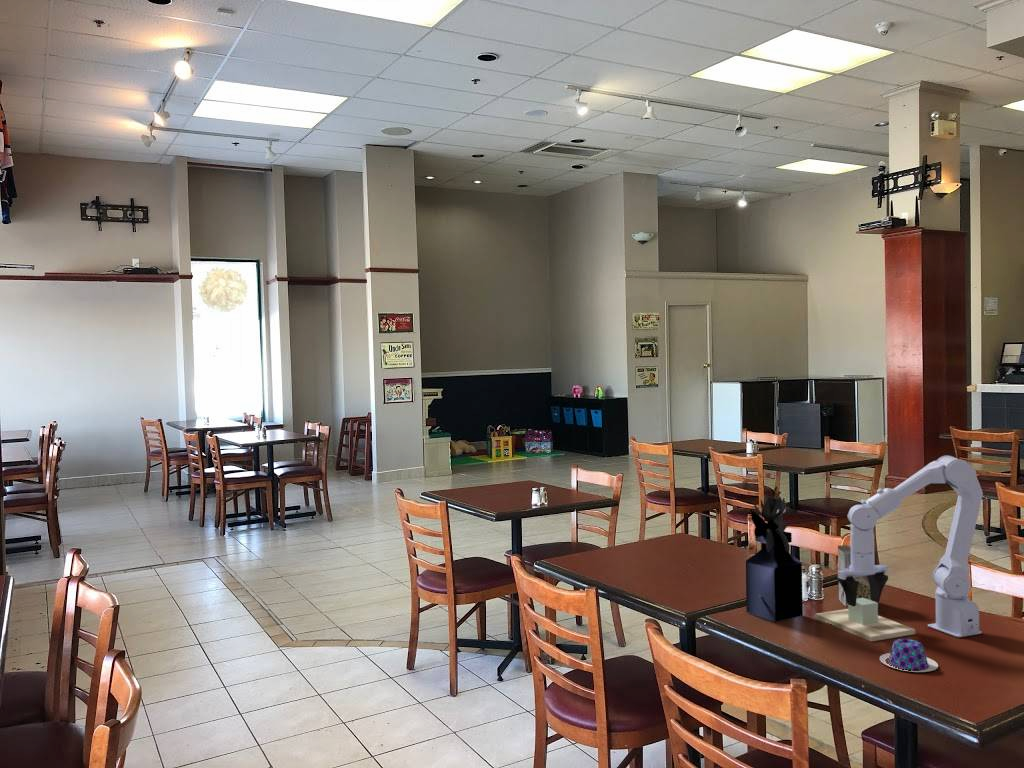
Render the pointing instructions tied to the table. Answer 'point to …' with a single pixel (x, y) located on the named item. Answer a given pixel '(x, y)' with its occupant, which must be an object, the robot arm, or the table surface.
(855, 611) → the pale green cube
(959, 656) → the table surface
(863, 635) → the board
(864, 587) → the coffee box
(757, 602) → the vase
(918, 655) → the purple patterned hat
